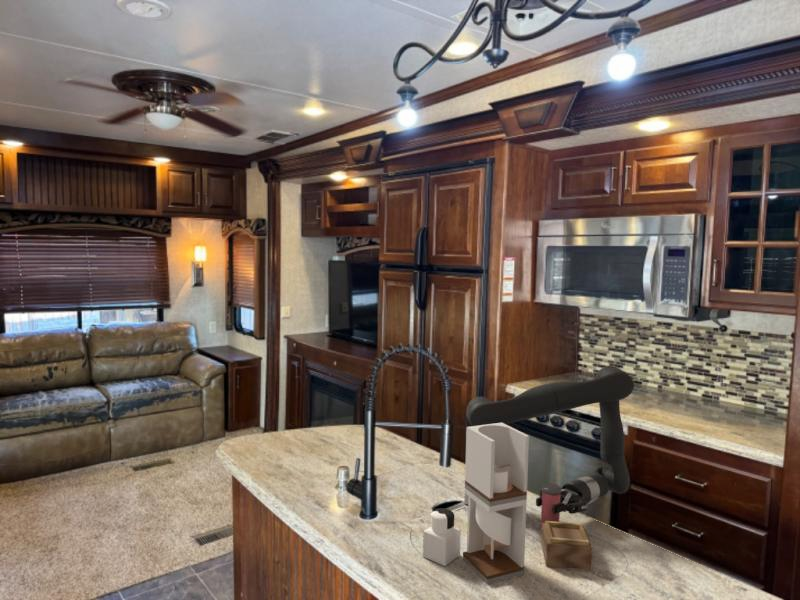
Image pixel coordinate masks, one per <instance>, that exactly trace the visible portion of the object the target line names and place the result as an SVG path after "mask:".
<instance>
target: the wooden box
mask: <svg viewBox="0 0 800 600" xmlns="http://www.w3.org/2000/svg"><path fill="white" fill-rule="evenodd" d="M540 536H541V537H540V545H541V551H542V554H543V557H544V563H545V567H548V568H549V567H550V568H559V569H560V568H561V569H572V570H584V571H585V570H586V571H592V565H593V564H592V563H593V545H592V543H591V540H590V538H589V536H588V533H587V531H586V528H585V526H584V525H583V523H577V522H565V521H559V522H555V521H545V523H542V528H541V535H540Z"/></svg>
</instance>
